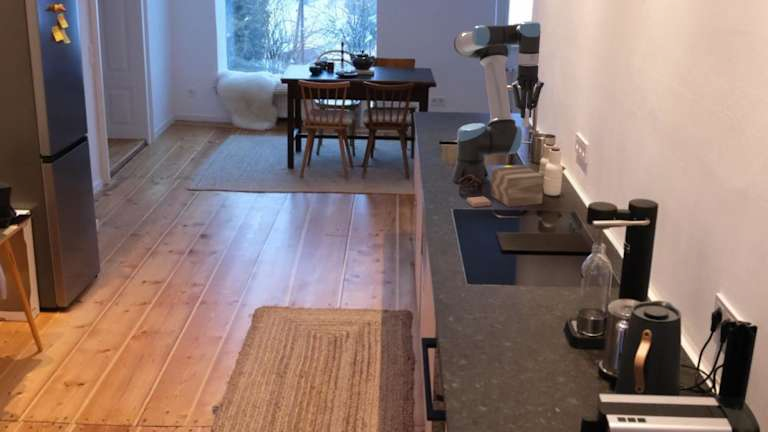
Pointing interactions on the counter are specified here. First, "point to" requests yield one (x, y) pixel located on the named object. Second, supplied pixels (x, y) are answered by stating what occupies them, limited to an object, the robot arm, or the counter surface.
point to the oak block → (517, 185)
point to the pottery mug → (470, 184)
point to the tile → (478, 201)
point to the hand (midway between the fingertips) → (525, 126)
